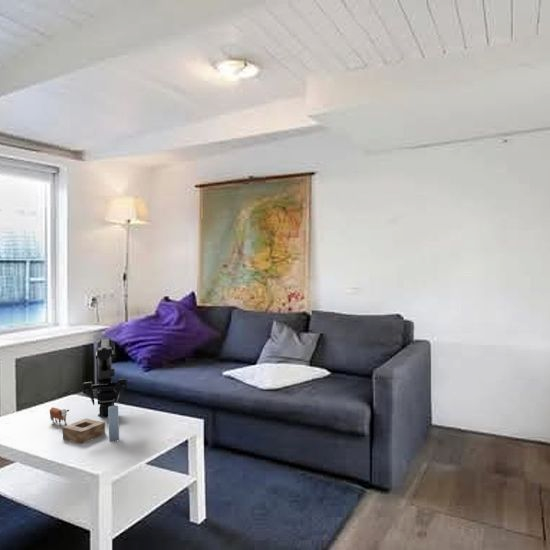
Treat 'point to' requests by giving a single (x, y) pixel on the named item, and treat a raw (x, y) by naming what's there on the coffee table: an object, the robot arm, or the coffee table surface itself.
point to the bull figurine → (58, 415)
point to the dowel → (113, 423)
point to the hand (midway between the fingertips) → (105, 403)
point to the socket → (83, 430)
